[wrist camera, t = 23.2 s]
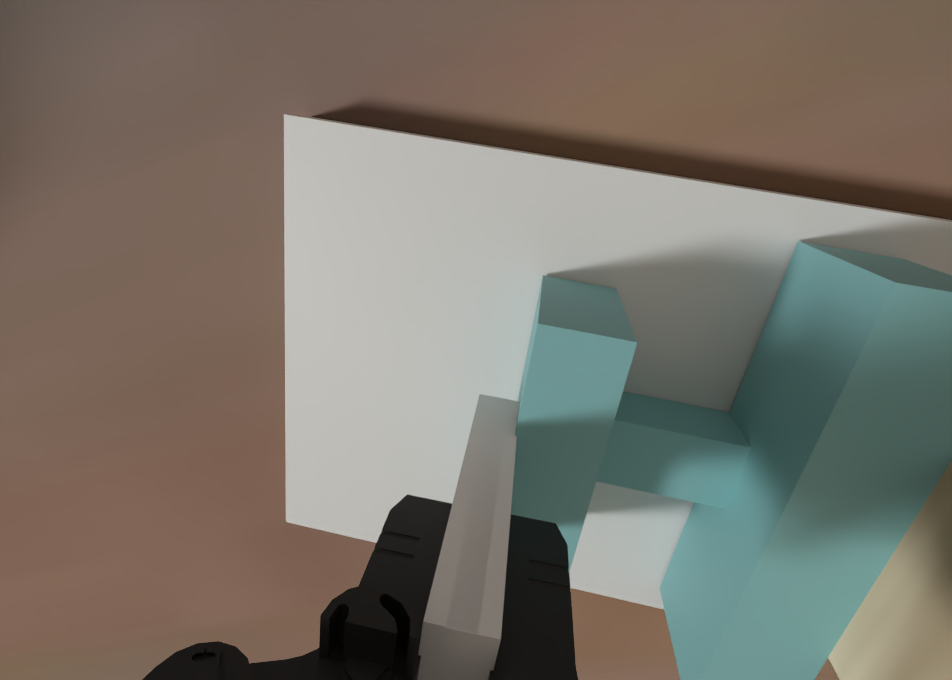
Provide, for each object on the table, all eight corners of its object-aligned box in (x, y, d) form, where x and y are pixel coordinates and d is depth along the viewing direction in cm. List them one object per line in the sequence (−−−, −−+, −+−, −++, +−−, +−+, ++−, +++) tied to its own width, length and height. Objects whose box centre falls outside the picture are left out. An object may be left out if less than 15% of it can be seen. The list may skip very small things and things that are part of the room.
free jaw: (487, 547, 18) (469, 653, 14) (557, 200, 13) (558, 224, 9) (734, 604, 17) (781, 730, 13) (902, 258, 12) (1047, 308, 9)
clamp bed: (304, 495, 20) (219, 615, 15) (309, 116, 15) (178, 104, 10) (965, 645, 18) (1124, 842, 13) (1257, 269, 13) (1729, 357, 8)
